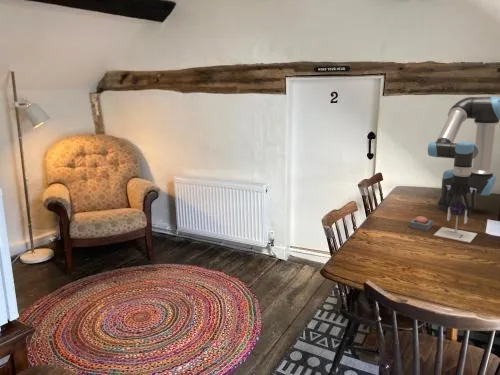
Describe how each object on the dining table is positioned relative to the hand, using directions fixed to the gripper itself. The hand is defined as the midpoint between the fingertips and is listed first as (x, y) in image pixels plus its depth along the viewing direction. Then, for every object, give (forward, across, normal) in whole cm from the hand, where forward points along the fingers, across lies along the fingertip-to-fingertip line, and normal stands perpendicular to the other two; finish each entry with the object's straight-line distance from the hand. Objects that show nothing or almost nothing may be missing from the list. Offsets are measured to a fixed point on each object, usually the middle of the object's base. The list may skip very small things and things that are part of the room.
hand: (456, 221), depth 194 cm
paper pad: (+7, 0, 0) cm, 7 cm away
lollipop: (+6, 0, 0) cm, 6 cm away
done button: (+5, -17, +2) cm, 18 cm away
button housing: (+7, -17, +2) cm, 18 cm away
